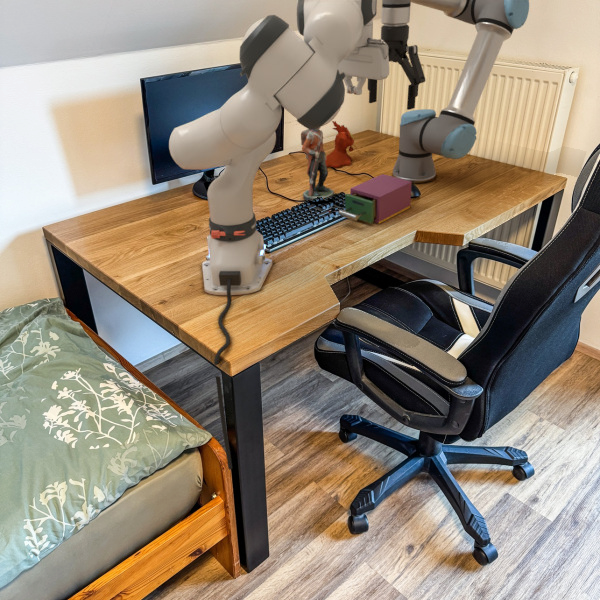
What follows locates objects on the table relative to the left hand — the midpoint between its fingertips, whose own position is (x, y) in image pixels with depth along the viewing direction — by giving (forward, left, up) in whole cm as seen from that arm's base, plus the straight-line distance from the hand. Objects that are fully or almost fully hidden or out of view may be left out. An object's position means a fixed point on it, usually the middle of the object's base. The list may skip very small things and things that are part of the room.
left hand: (354, 93), depth 150 cm
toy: (+58, +3, -38) cm, 70 cm away
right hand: (+12, -12, -6) cm, 18 cm away
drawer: (+5, -5, -37) cm, 38 cm away
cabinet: (+10, -10, -38) cm, 40 cm away
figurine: (+22, +10, -38) cm, 45 cm away
